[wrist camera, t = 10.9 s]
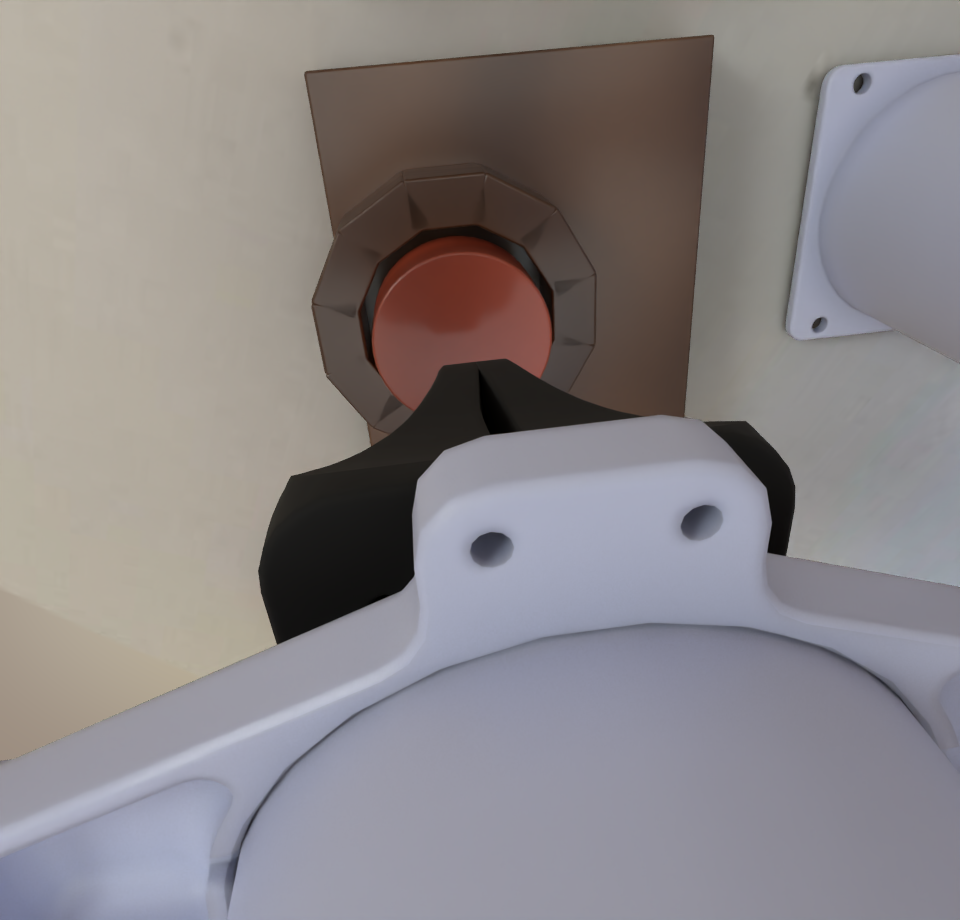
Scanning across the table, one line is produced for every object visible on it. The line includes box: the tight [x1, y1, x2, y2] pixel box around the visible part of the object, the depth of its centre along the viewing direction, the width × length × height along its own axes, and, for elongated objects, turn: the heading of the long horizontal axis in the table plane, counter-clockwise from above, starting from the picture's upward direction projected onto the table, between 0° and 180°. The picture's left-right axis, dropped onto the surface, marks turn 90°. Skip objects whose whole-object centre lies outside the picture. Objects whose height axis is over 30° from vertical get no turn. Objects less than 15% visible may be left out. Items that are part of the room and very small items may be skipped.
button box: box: [304, 35, 714, 446], centre depth 20 cm, size 11×12×4 cm
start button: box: [372, 236, 552, 411], centre depth 18 cm, size 4×4×2 cm
